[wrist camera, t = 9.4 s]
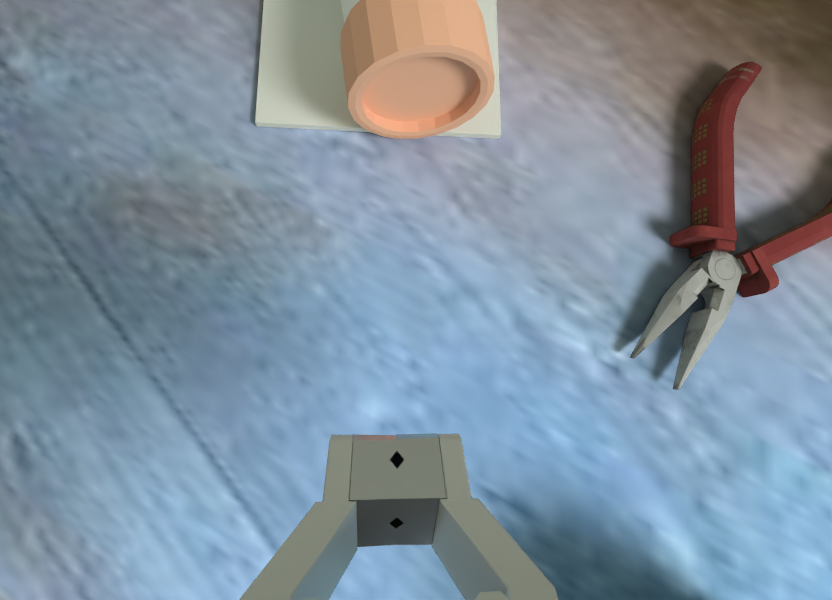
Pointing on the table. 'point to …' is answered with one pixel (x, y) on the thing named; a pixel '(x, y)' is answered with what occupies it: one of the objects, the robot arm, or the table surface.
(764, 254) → the pliers
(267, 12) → the mat
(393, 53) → the pepper shaker
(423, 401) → the table surface
